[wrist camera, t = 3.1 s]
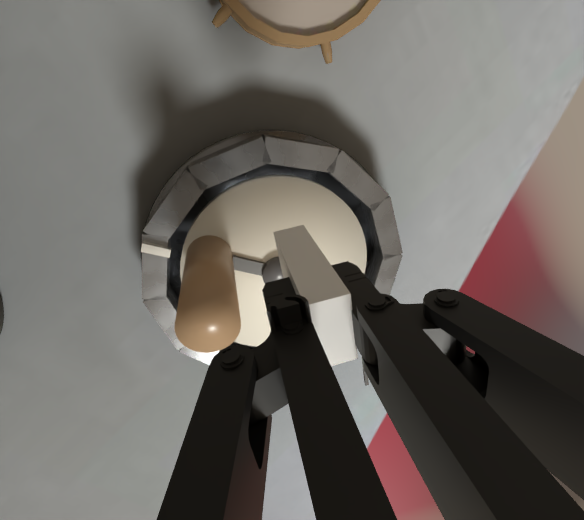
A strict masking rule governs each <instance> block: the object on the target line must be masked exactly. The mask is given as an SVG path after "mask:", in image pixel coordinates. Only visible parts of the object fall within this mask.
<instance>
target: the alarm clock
mask: <svg viewBox="0 0 584 520" xmlns="http://www.w3.org/2000/svg"><path fill="white" fill-rule="evenodd" d="M219 1H220V3H221V5H222V7H221V8H220V9H219V11H218V12H217V14H216V15H215V17H214V19H213V21H212V23H213V24H214V25H215V26H216V28H218V27H219V26H221V25H222V24H223V23H224V22H226V20H227V19H228V18H229V17H230V15H231V16H232V17H233V18H234V19H235V20H236V22H237V23H238V24H239V25H240V26H241V27H242V28H243V29H244V30H245V31H246V32H248V33H250V34H252V35H254V36H256V37H258V38H260V39H261V40H263V41H265V42H267V43H269V44H271V45H275V46H282V47H290V48H297V49H299V48H303V47H310V46H314V45H318V44H321V49H322V54H323V57H324V59H325V62H326V64H328V63H331V62H332V49H331V44H330V41H334V40H338V39H339V38H340V37H342V36H343V35H345V34H346V33H348V32H349V31H351V30H352V29H354V28H355V27H357V26H358V25H360V24H361V23H363V22H364V20H365V19H366V18H367V17H368V15H369V14H370V13H371V12H372V10H373V9H374V8H375V7H376V5H377V4H378V3H379V2H380V0H219Z"/></svg>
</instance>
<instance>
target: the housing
mask: <svg viewBox="0 0 584 520" xmlns="http://www.w3.org/2000/svg"><path fill="white" fill-rule="evenodd" d="M279 174H284V175H293V176H298V177H302V178H306V179H309V180H312V181H314V182H317V183H319V184H321V185H322V186H324V187H326V188H328V189H329V190H331V191H332V192H333V193H334V194H336V195H337V196H338V197H339V198H341V199H342V200H343V201H344V202H345V203H346V204H347V205H348V206H349V207H350V209H351V210H352V211H353V213H354V214H355V216H356V217H357V219H358V221H359V223H360V225H361V227H362V230H363V234H364V237H365V242H366V248H367V261H366V269H365V273H364V274H365V276H366V278H368V279H369V280H370V282H371V283H372V284H373V285H374V286H375V288H376V289H377V290H378V291H379V292H380V293H381V294H387V295H390V292H391V289H392V286H393V283H394V280H395V277H396V274H397V271H398V268H399V264H400V261H401V258H402V255H401V253H403V252H402V248H401V243H400V239H399V234H398V230H397V225H396V220H395V216H394V211H393V207H392V202H391V198H390V196H388V195H389V194H388V193H387V192H386V191H385V190H384V189H383V188H382V187H381V186H380V185H379V184H377V183H376V182H375V181H374V180H373V179H372V177H371V176H370V175H369V174H368V173H367V171H366V170H365V169H364V168H363V167H362V166H361V165H360V164H359V163H358V162H357V161H356V160H354V159H353V158H352V157H351V156H349V155H348V154H347V153H345V152H344V151H342V150H340V149H339V148H337V147H335V146H334V145H332V144H330V143H327V142H325V141H322V140H320V139H317V138H315V137H312V136H309V135H305V134H301V133H297V132H291V131H281V130H265V131H254V132H248V133H243V134H238V135H235V136H232V137H229V138H226V139H223V140H221V141H219V142H217V143H215V144H213V145H211V146H209V147H207V148H205V149H203V150H202V151H200V152H199V153H197V154H196V155H194V156H193V157H192V158H190V159H189V160H188V161H187V162H186V163H184V164H183V165H182V166H181V167H180V168H179V169H178V170H177V171H176V172H175V173H174V174H173V176H172V177H171V178H170V179H169V180H168V182H167V183H166V184H165V185H164V187H163V189H162V190H161V192H160V194H159V196H158V197H157V199H156V201H155V202H154V204H153V206H152V209H151V211H150V214H149V216H148V219H147V221H146V225H145V228H144V230H143V233H142V248H141V261H142V299H144V301H143V303H144V304H145V306H146V307H147V308H148V310H149V311H150V313H151V314H152V315H153V317H154V318H155V320H156V321H157V322H158V324H159V325H160V327H161V328H162V329H163V331H164V332H165V334H166V335H167V336H168V338H169V339H170V341H171V342H172V343H173V345H174V346H175V348H176V349H177V350H178V349H180V351H179V352H181V353H183V354H186V355H188V356H190V357H192V358H195V359H197V360H199V361H201V362H204V363H206V364H208V365H210V362H211V361H212V359H213V357H214V356H215V355H216V354H217V353H218V352H219V351H221V350H219V351H216V352H210V353H203V352H196V351H193V350H191V349H189V348H187V347H185V346H184V345H183V344H182V343H181V342H180V341H179V340H178V338H177V336H176V334H175V329H174V326H175V319H176V313H177V307H178V301H179V295H180V289H181V276H180V261H181V255H182V250H183V245H184V241H185V238H186V235H187V233H188V231H189V229H190V227H191V225H192V223H193V221H194V220H195V218H196V217H197V215H198V214H199V212H200V211H201V210H202V209H203V208H204V207H205V206H206V205H207V204H208V202H209V201H211V200H212V199H213V198H214V197H216V196H217V195H218V194H219V193H221V192H222V191H224V190H226V189H227V188H229V187H230V186H232V185H235V184H237V183H239V182H241V181H244V180H247V179H251V178H254V177H258V176H265V175H279ZM233 345H243V344H239V343H236V342H233V343H232V344H230V345H229V346H233ZM229 346H228V347H229ZM245 346H247V347H250V348H251V350H252V349H253V348H255V347H256V346H248V345H245ZM226 348H227V347H226ZM224 349H225V348H224ZM222 350H223V349H222Z"/></svg>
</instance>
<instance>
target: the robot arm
mask: <svg viewBox="0 0 584 520" xmlns="http://www.w3.org/2000/svg"><path fill="white" fill-rule="evenodd" d="M273 233H274V237H275V242H276V247H277V251H278V256H279V261H280V265H281V270H282V274H283V279H279V280H275V281H271V282H267V283H265V285H264V288H263V290H262V292H263V296H264V300H265V305H266V309H267V316H268V320H269V324H270V328H271V332H270V335H269V336H268V338H267V339H266V340H265V341H264V342H263V343H262V344H260V345H259V346H257V347H255V348H253V349H252V350H251V348H250V347H247V346H245V345H233V346H229V347H227V348H225V349H223V350H221V351H219V352H218V353H217V354H216V355H215V356H214V357H213V359H212V361H211V362H210V365H209V368H208V371H207V374H206V377H205V380H204V383H203V386H202V388H201V391H200V394H199V397H198V400H197V403H196V406H195V409H194V412H193V415H192V418H191V421H190V424H189V427H188V429H187V432H186V435H185V438H184V441H183V444H182V447H181V450H180V453H179V456H178V459H177V462H176V465H175V468H174V470H173V473H172V476H171V479H170V482H169V485H168V488H167V491H166V494H165V497H164V500H163V503H162V506H161V509H160V511H159V514H158V517H157V520H262V511H263V501H264V492H265V482H266V472H267V462H268V452H269V442H270V433H271V423H272V415H271V414H272V413H274V412H276V411H277V410H279V409H280V408H282V407H283V406H285V405H287V404H288V403H289V407H290V411H291V416H292V420H293V424H294V428H295V432H296V437H297V441H298V445H299V449H300V453H301V458H302V462H303V466H304V470H305V474H306V479H307V483H308V487H309V491H310V495H311V500H312V504H313V508H314V512H315V516H316V520H397V518H396V516H395V514H394V511H393V509H392V507H391V504H390V502H389V500H388V497H387V495H386V493H385V490H384V488H383V486H382V484H381V481H380V479H379V476H378V474H377V472H376V469H375V467H374V465H373V462H372V460H371V458H370V456H369V453H368V451H367V449H366V446H365V444H364V442H363V439H362V437H361V435H360V432H359V430H358V428H357V425H356V423H355V421H354V418H353V416H352V414H351V411H350V409H349V407H348V404H347V402H346V400H345V397H344V395H343V393H342V390H341V388H340V386H339V383H338V381H337V379H336V377H335V374H334V372H333V370H332V367H331V366H333V365H337V364H340V363H344V362H348V361H351V360H355V359H358V354H357V348H358V350H359V352H360V354H361V355H362V363H363V373H364V381H365V385H369V383H368V378H369V380H370V382H371V383H372V385H373V387H374V389H375V391H376V393H377V395H378V396H379V398H380V400H381V402H382V404H383V406H384V408H385V409H386V411H387V413H388V415H389V417H390V419H391V421H392V422H393V424H394V426H395V428H396V430H397V432H398V433H399V435H400V437H401V439H402V441H403V443H404V445H405V447H406V448H407V450H408V452H409V454H410V456H411V458H412V460H413V461H414V463H415V465H416V467H417V469H418V471H419V472H420V474H421V476H422V478H423V480H424V482H425V484H426V485H427V487H428V489H429V491H430V493H431V495H432V497H433V499H434V500H435V502H436V504H437V506H438V508H439V510H440V511H441V513H442V515H443V517H444V519H445V520H584V511H583V510H582V509H581V507H580V506H579V505H578V504H577V503H576V502H575V501H574V500H573V498H572V497H571V496H570V495H569V494H568V493H567V492H566V490H565V489H564V488H563V487H562V486H561V485H560V484H559V483H558V482H557V480H555V478H554V477H553V476H552V475H551V474H550V472H551V473H552V474H553V475H554V476H556V477H557V478H558V479H559V480H560V481H562V482H563V483H564V484H565V485H566V486H568V487H569V488H570V489H571V490H572V491H574V492H575V493H576V494H577V495H578V496H580V497H581V498H582V499H583V500H584V356H583V355H581V354H579V353H577V352H575V351H573V350H571V349H569V348H567V347H565V346H563V345H562V344H560V343H558V342H556V341H554V340H552V339H550V338H548V337H546V336H544V335H542V334H540V333H538V332H536V331H534V330H532V329H531V328H529V327H527V326H525V325H523V324H521V323H519V322H517V321H515V320H513V319H511V318H509V317H507V316H506V315H503V314H502V313H500V312H498V311H496V310H494V309H492V308H490V307H488V306H486V305H484V304H482V303H480V302H478V301H477V300H475V299H473V298H471V297H469V296H467V295H465V294H463V293H461V292H458V291H455V290H450V289H436V290H433V291H430V292H429V293H427V294H426V295H425V297H424V299H423V304H400V303H399V302H398V301H397V300H396V299H395V298H393V297H392V296H390V295H387V294H381V293H380V292H379V291H378V290H377V289H376V288H375V286H374V285H373V284H372V283H371V282H370V280H369V279H368V278H366V276H365V274H364V273H362V271H361V270H360V269H359V267H358V266H357V265H355V264H353V263H350V262H348V261H346V262H342V263H339V264H335V265H331V264H330V263H329V261H328V260H327V258H326V257H325V255H324V254H323V253H322V251H321V250H320V248H319V247H318V245H317V244H316V242H315V241H314V239H313V238H312V237H311V235H310V234H309V232H308V231H307V229H306V228H305V226H304V225H300V226H296V227H292V228H288V229H283V230H279V231H275V232H273ZM3 319H4V310H3V303H2V299H1V296H0V334H1V331H2V327H3ZM466 346H467V347H469V348H470V349H472V350H474V351H475V354H472V353H470V352H469V351H467V350H466Z"/></svg>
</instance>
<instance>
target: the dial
mask: <svg viewBox="0 0 584 520" xmlns="http://www.w3.org/2000/svg"><path fill="white" fill-rule="evenodd" d="M300 225H304V226H305V228H306V229H307V231H308V232H309V234H310V235H311V237H312V238H313V239H314V241H315V242H316V244H317V245H318V247H319V248H320V250H321V251H322V253H323V254H324V255H325V257H326V258H327V260H328V261H329V263H330V264H331V265H335V264H339V263H342V262H346V261H348V262H350V263H353V264H355V265H357V266H358V267H359V269H360V270H361V271H362V273H365V269H366V261H367V248H366V242H365V237H364V234H363V230H362V227H361V225H360V223H359V221H358V219H357V217H356V216H355V214H354V213H353V211H352V210H351V209H350V207H349V206H348V205H347V204H346V203H345V202H344V201H343V200H342V199H341V198H339V197H338V196H337V195H336V194H334V193H333V192H332V191H331V190H329V189H328V188H326V187H324V186H322V185H321V184H319V183H317V182H314V181H312V180H309V179H306V178H302V177H298V176H293V175H284V174H279V175H265V176H258V177H254V178H251V179H247V180H244V181H241V182H239V183H237V184H235V185H232V186H230V187H229V188H227V189H226V190H224V191H222V192H221V193H219V194H218V195H217V196H216V197H214V198H213V199H212V200H211V201H209V202H208V204H207V205H206V206H205V207H204V208H203V209H202V210H201V211H200V212H199V214H198V215H197V217H196V218H195V220H194V221H193V223H192V225H191V227H190V229H189V231H188V233H187V235H186V238H185V241H184V245H183V250H182V255H181V261H180V276H181V289H180V295H179V301H178V307H177V313H176V319H175V326H174V329H175V334H176V336H177V338H178V340H179V341H180V342H181V343H182V344H183V345H184V346H185V347H187V348H189V349H191V350H193V351H196V352H203V353H210V352H216V351H219V350H222V349H224V348H226V347H228V346H229V345H230V344H232V343H233V342H236V343H239V344H243V345H248V346H256V347H257V346H259V345H260V344H262V343H263V342H264V341H265V340H266V339H267V338H268V336H269V335H270V332H271V328H270V324H269V320H268V316H267V309H266V305H265V300H264V296H263V292H262V290H263V288H264V285H265V283H267V282H271V281H275V280H279V279H283V274H282V270H281V265H280V261H279V256H278V251H277V247H276V242H275V237H274V233H273V232H275V231H279V230H283V229H288V228H292V227H296V226H300Z"/></svg>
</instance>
